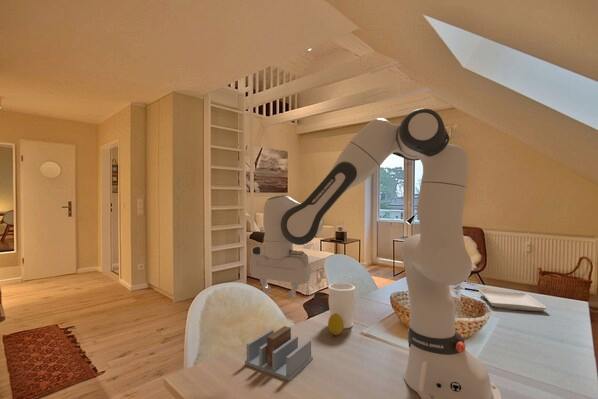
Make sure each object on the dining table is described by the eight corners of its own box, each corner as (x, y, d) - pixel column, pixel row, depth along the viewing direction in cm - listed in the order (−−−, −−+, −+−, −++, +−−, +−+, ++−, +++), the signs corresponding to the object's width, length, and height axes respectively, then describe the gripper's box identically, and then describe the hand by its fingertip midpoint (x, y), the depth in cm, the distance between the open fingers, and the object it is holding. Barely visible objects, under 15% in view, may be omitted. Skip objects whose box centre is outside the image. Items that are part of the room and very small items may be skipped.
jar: (323, 324, 119) (322, 286, 119) (340, 317, 125) (340, 281, 125) (344, 332, 111) (343, 292, 111) (361, 325, 117) (360, 286, 118)
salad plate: (526, 299, 147) (526, 292, 147) (548, 315, 127) (548, 307, 127) (477, 295, 153) (477, 288, 153) (490, 310, 133) (490, 302, 133)
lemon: (343, 339, 105) (342, 316, 105) (327, 338, 106) (327, 315, 106) (343, 332, 111) (343, 311, 111) (328, 331, 112) (328, 310, 112)
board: (290, 353, 94) (290, 327, 94) (273, 366, 87) (273, 339, 87) (284, 351, 95) (284, 326, 96) (267, 364, 88) (266, 337, 88)
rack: (312, 359, 92) (312, 339, 92) (289, 381, 81) (289, 358, 81) (271, 346, 101) (271, 328, 101) (244, 364, 90) (244, 344, 90)
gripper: (313, 250, 88) (314, 297, 88) (259, 245, 99) (260, 287, 99) (302, 253, 83) (302, 303, 83) (246, 248, 94) (247, 292, 94)
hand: (279, 294), depth 91 cm, fingers open, 8 cm apart
